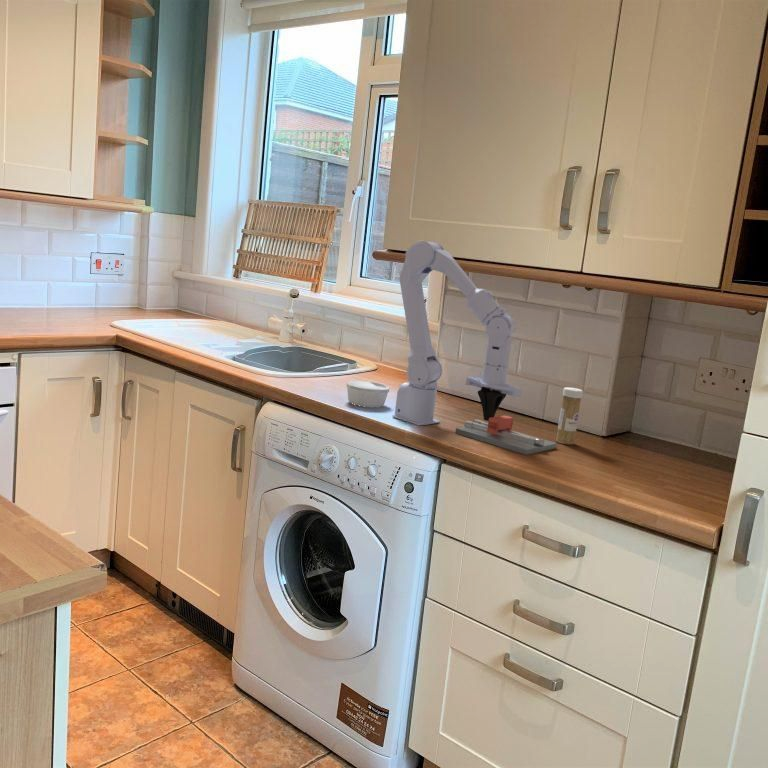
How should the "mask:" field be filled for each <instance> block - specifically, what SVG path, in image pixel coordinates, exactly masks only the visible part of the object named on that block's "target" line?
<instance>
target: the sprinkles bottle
mask: <svg viewBox="0 0 768 768" xmlns="http://www.w3.org/2000/svg"><path fill="white" fill-rule="evenodd" d="M583 392H584V391H583V390H582V389H580V388H576V387H572V386H571V387H569V386H567V387H563V391H562V401H561V407H560V412H559V418H558V424H557V433H556V438H555V441H556V443H557V444H558V443H559V444H562V445H574V444H575V439H576V431H577V428H578V421H579V414H580V408H581V407H580V406H581V402H582V401H581V400H582V398H583Z"/></svg>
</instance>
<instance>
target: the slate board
mask: <svg viewBox="0 0 768 768" xmlns="http://www.w3.org/2000/svg"><path fill="white" fill-rule="evenodd" d="M512 431H514V432H518V433H521V434H524V435H527V436H530V437H533V438H538V437H536V436H533V435H530V434H526V433H523V432H519V431H515V430H513V429H512ZM455 434H457V435H461V436H463V437H467V438H470V439H473V440H477V441H480V442H483V443H487V444H489V445H492V446H493V445H494V446H497V447H500V448H503V449H505V450H509V451H513V452H514V453H518V454H522V455H525V456H528V455H532V454H537V453H541V452H545V451H549V450H554V449H557V446H558V445H557V444H558V442H553V441H551V440H548V439H544V446H543V447H539V446H535V445H532V444H529V443H525V442H521V441H518V440H514V439H511V438H507V437H503V436H500V435H495V434H491V433H488V432H485V431H481V430H478V429H474V428H469V427H465V426H460V427H456V428H455Z"/></svg>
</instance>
